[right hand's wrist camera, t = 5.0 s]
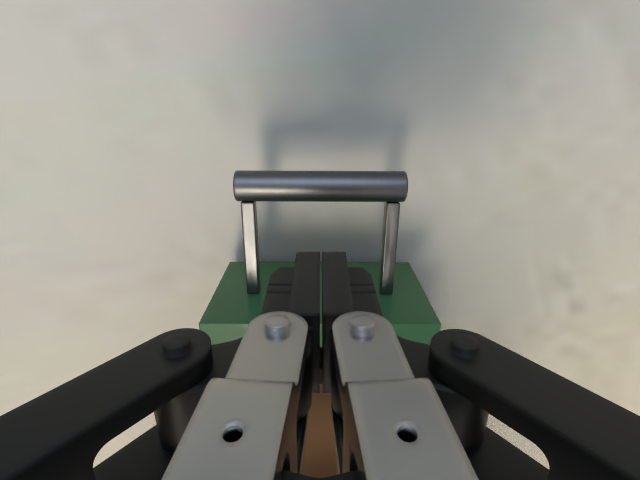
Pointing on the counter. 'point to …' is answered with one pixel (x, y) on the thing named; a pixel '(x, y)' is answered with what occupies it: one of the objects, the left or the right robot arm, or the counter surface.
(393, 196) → the drawer
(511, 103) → the counter surface
